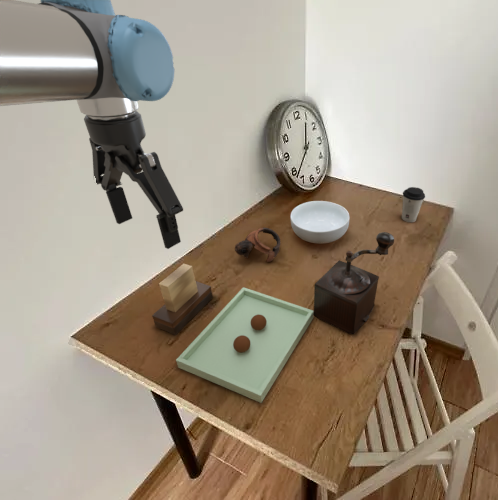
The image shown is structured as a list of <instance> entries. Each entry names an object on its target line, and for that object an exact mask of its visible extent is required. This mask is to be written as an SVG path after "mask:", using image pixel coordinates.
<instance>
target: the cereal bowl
mask: <svg viewBox="0 0 498 500" xmlns="http://www.w3.org/2000/svg"><path fill="white" fill-rule="evenodd" d="M289 217H290V226H291V229H292V230H293V231H292V232H294V234H295V235H296V236H297V237H298V238H300V239H301V240H303V241H305V242H307V243H312V244H322V245H323V244H329V243H332V242H335V241H337V240H339V239H341V238H342V237H343V236H344V235H345V234H346V232H347V231H348V229H349V226H350V213H349V211H348V210H347V209H346V208H345V207H344V206H343V205H340V204H338V203H335V202H331V201H326V200H313V201H307V202H303V203H301V204H299V205H297V206H295V207H294V208H293V209H292V211H291V212H290V216H289Z"/></svg>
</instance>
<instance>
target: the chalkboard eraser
mask: <svg viewBox="0 0 498 500" xmlns="http://www.w3.org/2000/svg"><path fill="white" fill-rule="evenodd" d="M158 286H159V290H160V293H161V297H162V298H163V302H164V304H163V305H162V306H161V307H160V308H159V309H157V310H156V311H155V312H154V313H153V314H152V315H151V317H152V320H153V323H154V326H155V328H156V329H160V330H161V331H164V332H167V333H169V334H172V335H174V336H176V335H177V334H178V333H180V331H181V330H183V328H184V327H185V326H187V324H188V323H189V322H190V321H191V320H192V319H193V318H195V316H196V315H197V314H198V313H199V312H201V310H202V309H203V308H205V306H206V305H207V304H208V303H209V302H210V301H211V300H212V299H213V298H214V295H213V290H212V286H211V285H208V284H206V283H203V282H200V281H196V275H195V272H194V267H193V265H189V264H186V263H182V264H181V265H180V266H178V267H177V268H176V269H175V270H173V272H171V273H170V274H169V275H167V276H166V277H165V278H164V279H163V280H162V281H160V282H158Z"/></svg>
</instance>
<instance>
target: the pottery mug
mask: <svg viewBox="0 0 498 500" xmlns="http://www.w3.org/2000/svg"><path fill="white" fill-rule="evenodd" d="M259 233H264V234H268V235H271V236H272V237H273V240H274V241H276V245H275V246H273V247H272V250H271V247H270V246H267V245H266V244H264V243H262V242H261V240H260V238H259V236H258V235H259ZM281 244H282V243H281V238H280V236H279V234H278V233H277V232H276V231H275V230H273V229H272V228H269V227H260V228H258V229H257V230H253V231H251V232H249V234H248V235H247V236H246V237H245V239H244V240H241V241H239V242H238V243H236V244H235V245H234V252H235V253H236V254H237V255H238V256H243V257H244V258H246V259H248V258H249V255H250V253H251V252H252V250H253V248H254V249H256V250H257V251H259V252H261V253H263V254H264V255H267V258H266V260H265V261H266V262H267V263H271V262H272V261H273V260H274V258H276V257H277V256H278V254H279V252H280V249H281Z"/></svg>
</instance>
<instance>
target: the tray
mask: <svg viewBox="0 0 498 500" xmlns="http://www.w3.org/2000/svg"><path fill="white" fill-rule="evenodd" d="M313 313H314V309H309V308H307V307H305V306H301V305H298V304H295V303H292V302H289V301H286V300H283V299H280V298H277V297H275V296H272V295H271V296H270V295H268V294H265V293H263V292H259V291H256V290H253V289H250V288H247V287H244V286H243V287H242V288H241V289H240V290H239V291H238V292H237V293H236V295H234V296H233V297H232V299H231V300H230V301H229V302H228V303H227V304H226V305H225V306H224V307H223V308H222V310H220V312H219V313H218V314H217V315H216V316H215V317H214V318H213V319H212V320H211V321H210V322H209V324H207V325H206V327H205V328H204V329H203V330H202V331H201V332H200V333H199V334H198V335H197V336H196V338H195V339H194V340H193V341H192V342H191V343H190V344H189V345H188V346H187V348H185V349H184V350H183V352H182V353H180V355H178V357H177V358H176V359H175V361H176V365H177V368H178V369H181V370H183V371H185V372H188V373H190V374H193V375H194V376H197V377H199V378H201V379H204V380H206V381H208V382H212V383H214V384H216V385H217V386H220V387H223V388H226V389H228V390H230V391H232V392H234V393H237V394H239V395H242V396H244V397H247V398H249V399H251V400H253V401H256V402H258V403H260V404H262V403H263V401H264V400H265V398H266V396H267V395H268V393H269V392H270V389H271V388H272V386H273V385H274V383H275V382H276V380H277V379H278V377H279V375H280V373H281V372H282V370H283V368H284V367H285V365H286V364H287V362H288V360H289V359H290V357H291V355H292V354H293V352H294V350H295V349H296V347H297V345H298V344H299V342H300V341H301V339H302V338H303V336H304V334H305V333H306V331H307V329H308V328H309V326H310V324H311V323H312V321H313V319H314V315H313ZM255 315H263V316H264V317H265V318H266V321H267V323H266V326H265V328H264V329H262V330H254V329H253V328H252V327H251V319H252V318H253V317H254V316H255ZM241 335H244V336H247V337H248V338H249V340H250V348H249V349H248V350H247V351H246V352H243V353H239V352H237V351H236V350H235V349H234V347H233V342H234V340H235V339H236V338H237V337H238V336H241Z"/></svg>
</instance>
